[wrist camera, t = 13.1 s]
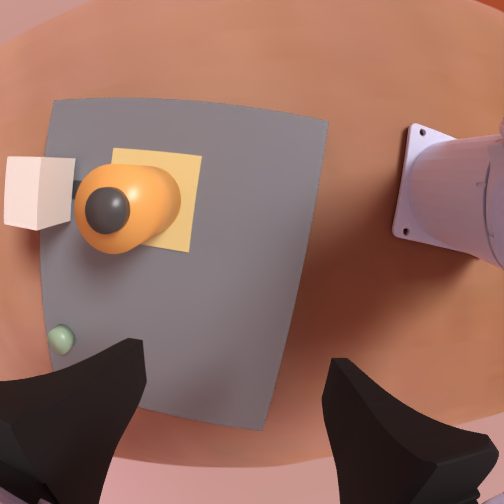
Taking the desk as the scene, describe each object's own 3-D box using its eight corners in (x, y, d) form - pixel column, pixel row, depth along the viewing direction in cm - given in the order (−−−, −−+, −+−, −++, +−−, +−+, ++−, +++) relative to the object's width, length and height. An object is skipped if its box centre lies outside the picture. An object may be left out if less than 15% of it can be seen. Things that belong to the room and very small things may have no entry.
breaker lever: (75, 158, 17) (41, 157, 13) (70, 220, 18) (36, 230, 14) (42, 157, 17) (7, 156, 13) (37, 215, 18) (3, 224, 14)
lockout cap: (191, 180, 17) (160, 181, 12) (167, 244, 18) (131, 271, 13) (131, 157, 17) (81, 152, 12) (111, 219, 18) (59, 237, 12)
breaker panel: (321, 127, 19) (333, 117, 15) (262, 410, 24) (262, 441, 20) (72, 106, 19) (44, 97, 15) (67, 364, 24) (47, 385, 20)
